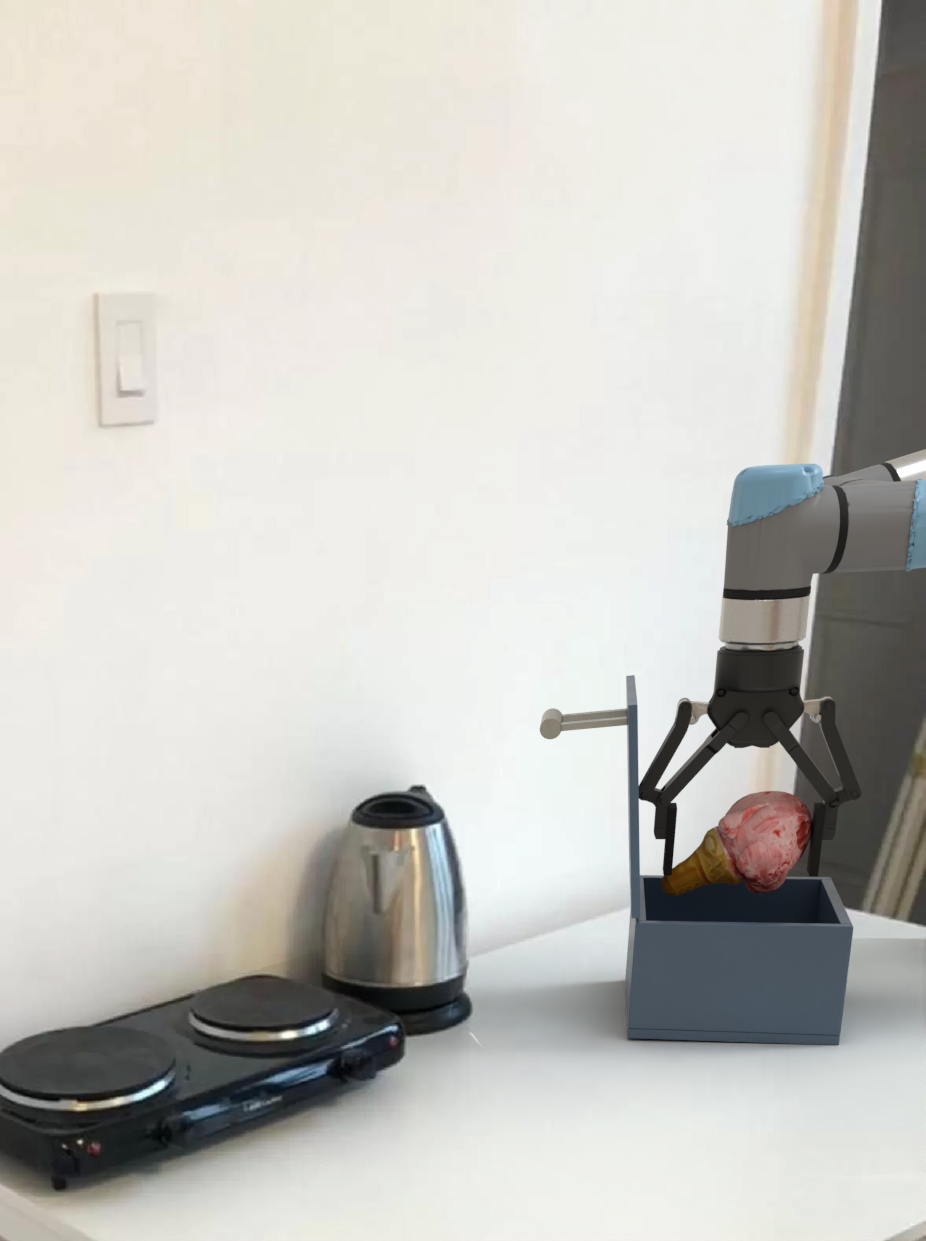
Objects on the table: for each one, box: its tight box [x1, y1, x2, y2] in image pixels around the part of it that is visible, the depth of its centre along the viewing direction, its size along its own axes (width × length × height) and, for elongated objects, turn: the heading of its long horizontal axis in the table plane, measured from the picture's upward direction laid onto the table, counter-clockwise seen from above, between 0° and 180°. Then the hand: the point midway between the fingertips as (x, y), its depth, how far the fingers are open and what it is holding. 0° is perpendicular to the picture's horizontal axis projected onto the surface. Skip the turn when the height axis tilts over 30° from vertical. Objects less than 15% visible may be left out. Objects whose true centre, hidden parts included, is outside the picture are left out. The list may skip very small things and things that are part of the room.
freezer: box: [624, 874, 854, 1046], centre depth 176 cm, size 19×19×12 cm
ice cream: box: [661, 790, 813, 896], centre depth 173 cm, size 11×10×15 cm
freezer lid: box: [539, 674, 641, 918], centre depth 174 cm, size 20×19×9 cm
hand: (739, 872), depth 173 cm, fingers closed on ice cream, 12 cm apart
